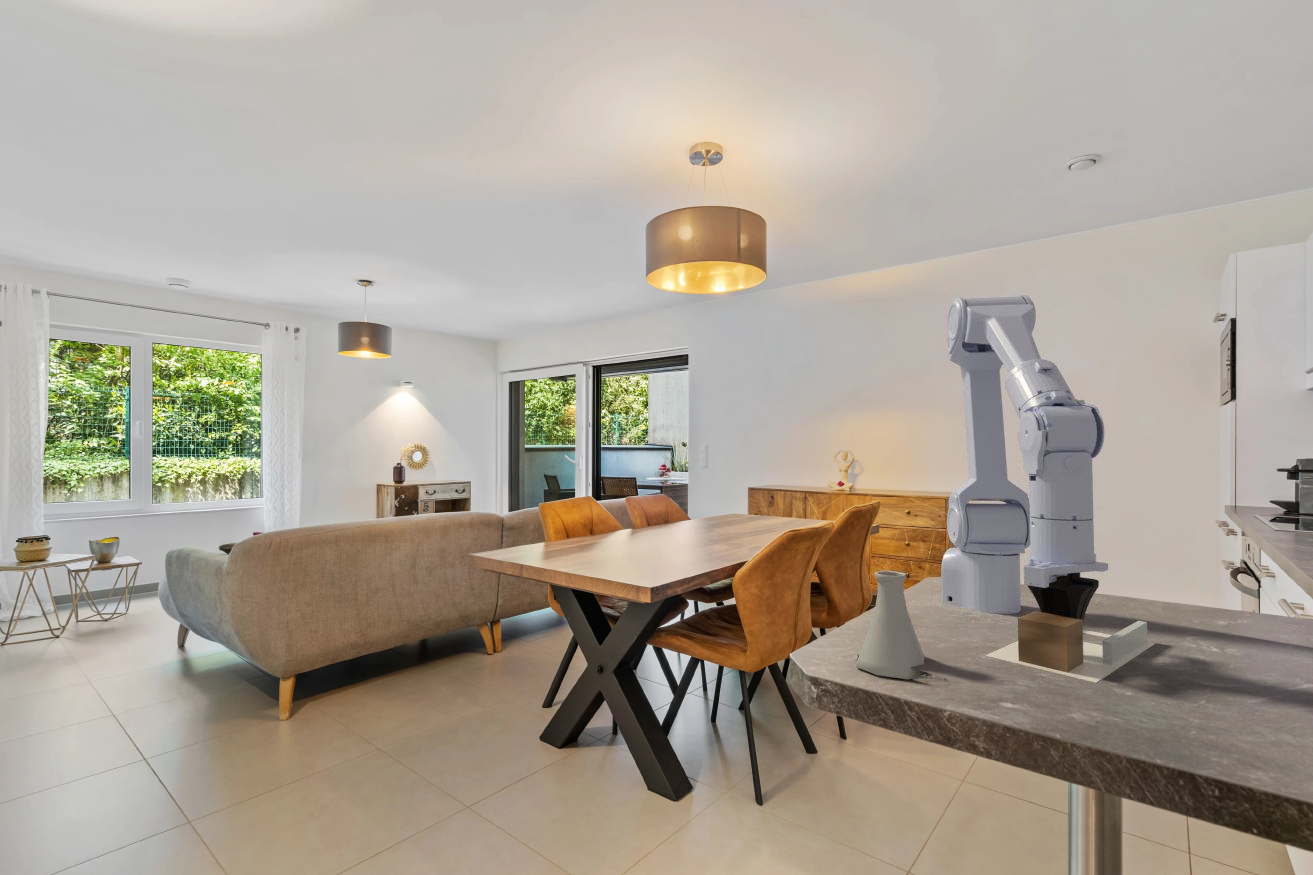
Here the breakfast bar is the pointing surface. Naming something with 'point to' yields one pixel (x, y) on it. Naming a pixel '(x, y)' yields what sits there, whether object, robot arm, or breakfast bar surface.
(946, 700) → the breakfast bar surface
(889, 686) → the breakfast bar surface
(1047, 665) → the walnut block
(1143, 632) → the trap channel
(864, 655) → the flask
